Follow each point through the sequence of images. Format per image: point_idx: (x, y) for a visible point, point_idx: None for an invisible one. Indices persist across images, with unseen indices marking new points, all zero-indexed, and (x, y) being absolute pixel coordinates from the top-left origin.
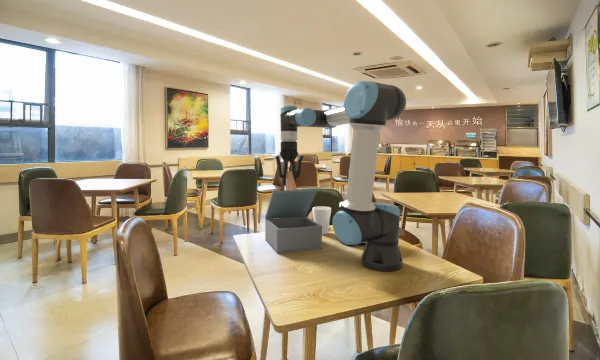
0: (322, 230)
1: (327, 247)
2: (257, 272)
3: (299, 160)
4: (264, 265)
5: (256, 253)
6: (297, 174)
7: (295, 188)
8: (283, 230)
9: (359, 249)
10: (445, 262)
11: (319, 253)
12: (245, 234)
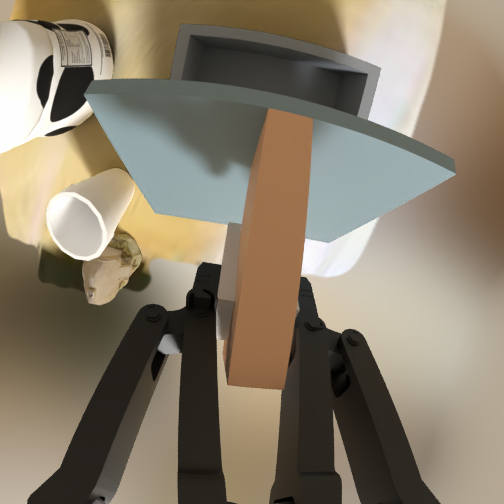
0: (115, 172)
1: (175, 43)
2: (436, 14)
3: (88, 486)
4: (412, 29)
5: (393, 109)
6: (158, 328)
7: (279, 125)
8: (355, 58)
9: (107, 6)
10: None
11: (232, 8)
12: (328, 274)
